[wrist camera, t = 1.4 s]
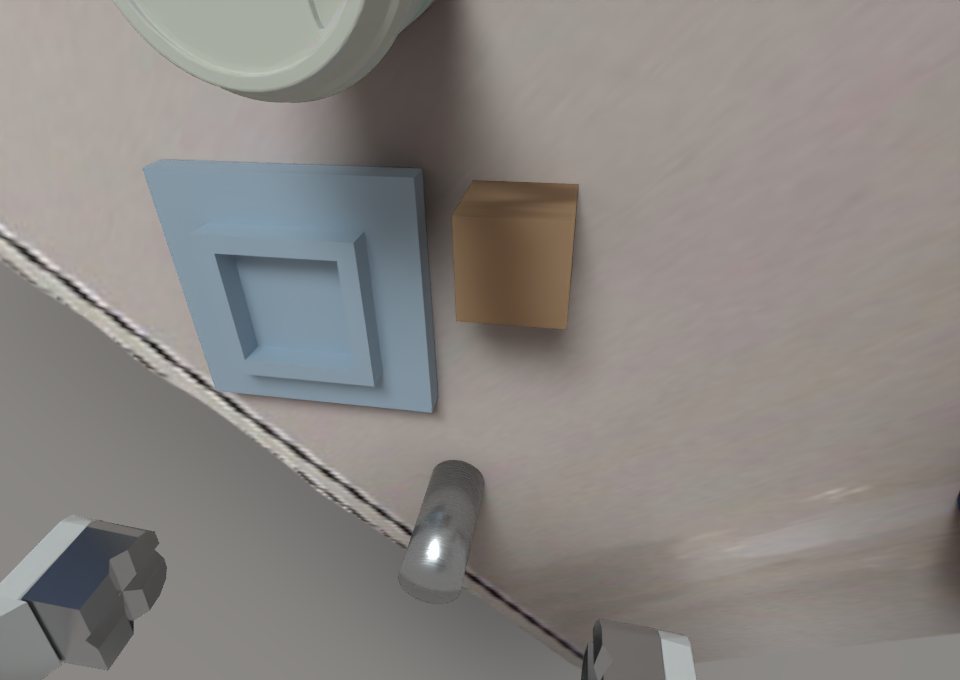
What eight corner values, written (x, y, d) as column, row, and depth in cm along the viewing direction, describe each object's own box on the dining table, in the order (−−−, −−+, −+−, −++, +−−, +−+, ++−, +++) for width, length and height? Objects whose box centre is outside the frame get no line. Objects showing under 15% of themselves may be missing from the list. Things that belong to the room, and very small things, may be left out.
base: (422, 168, 28) (404, 187, 25) (438, 397, 35) (425, 429, 33) (161, 159, 30) (121, 176, 27) (229, 376, 37) (202, 405, 35)
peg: (483, 463, 37) (459, 568, 31) (484, 501, 39) (461, 607, 33) (430, 457, 38) (395, 559, 31) (433, 494, 40) (401, 598, 33)
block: (578, 183, 27) (574, 222, 23) (570, 279, 29) (566, 329, 25) (473, 179, 28) (451, 216, 23) (475, 273, 30) (456, 320, 26)
